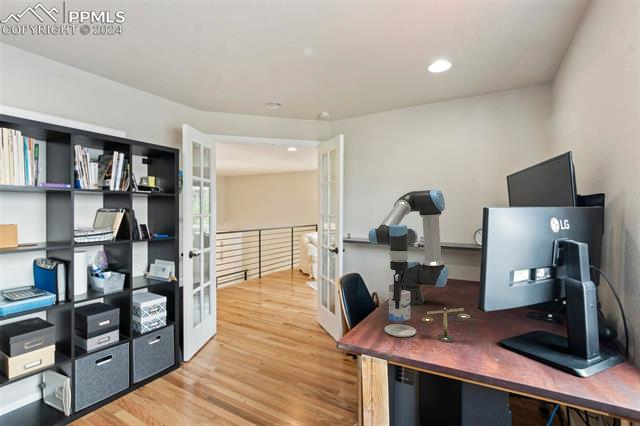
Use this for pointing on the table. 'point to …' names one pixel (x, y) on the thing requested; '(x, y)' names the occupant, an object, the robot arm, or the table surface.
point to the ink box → (404, 305)
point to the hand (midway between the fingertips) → (399, 313)
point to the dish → (400, 330)
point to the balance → (445, 322)
